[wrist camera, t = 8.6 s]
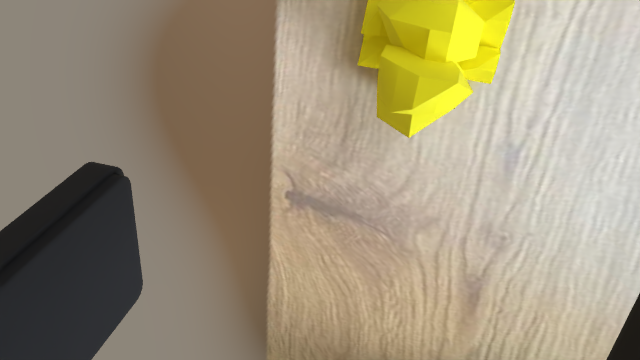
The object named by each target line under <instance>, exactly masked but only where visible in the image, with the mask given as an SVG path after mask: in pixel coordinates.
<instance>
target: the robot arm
mask: <svg viewBox="0 0 640 360" xmlns="http://www.w3.org/2000/svg"><path fill="white" fill-rule="evenodd" d="M142 285H143V280H142V272H141V264H140V256H139V249H138V239H137V231H136V223H135V216H134V207H133V199H132V190H131V183H130V180H129V178H128V177H125V176H124V174H123V172H122V170H121V169H120V168H118V167H115V166H110V165H105V164H100V163H95V162H88V163H86V164H85V165H83V166H82V167H81V168H80V169H78V170H77V171H76V172H74V173H73V174H72V175H71V176H69V177H68V178H67V179H66V180H64V181H63V182H62V183H61V184H59V185H58V186H57V187H56V188H54V189H53V190H52V191H51V192H49V193H48V194H47V195H45V196H44V197H43V198H42V199H40V200H39V201H38V202H37V203H35V204H34V205H33V206H32V207H30V208H29V209H28V210H26V211H25V212H24V213H23V214H21V215H20V216H19V217H18V218H16V219H15V220H14V221H13V222H11V223H10V224H9V225H8V226H6V227H5V228H4V229H2V230H1V231H0V360H91V359H92V358H93V357H94V356H95V354H96V353H97V352H98V350H99V349H100V348H101V346H102V345H103V344H104V342H105V341H106V340H107V339H108V337H109V336H110V335H111V333H112V332H113V331H114V330H115V328H116V327H117V326H118V324H119V323H120V322H121V320H122V319H123V318H124V317H125V315H126V314H127V313H128V311H129V310H130V309H131V307H132V306H133V305H134V304H135V302H136V301H137V299H138V298H139V296H140V294H141V290H142ZM607 360H640V294H639V296H638V298H637V300H636V302H635V304H634V306H633V308H632V310H631V312H630V314H629V316H628V318H627V320H626V322H625V324H624V326H623V328H622V330H621V332H620V334H619V336H618V338H617V340H616V342H615V344H614V346H613V348H612V350H611V352H610V354H609V356H608V358H607Z"/></svg>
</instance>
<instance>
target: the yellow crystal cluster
mask: <svg viewBox="0 0 640 360" xmlns="http://www.w3.org/2000/svg"><path fill="white" fill-rule="evenodd" d="M514 4H515V0H368V2H367V7H366V11H365V16H364V21H363V25H362V30H361V33H362V34H364V36H363V43H362V48H361V52H360V56H359V61H358V65H359V66H364V67H370V68H379V70H378V81H377V117H378V118H380V119H381V120H383V121H384V122H386V123H387V124H389V125H390V126H392V127H393V128H395V129H396V130H398V131H399V132H401V133H402V134H404V135H405V136H407V137H408V138H409V137H411V136H412V135H414V134H415V133H417V132H418V131H420V130H422V129H423V128H425V127H426V126H428V125H429V124H431V123H432V122H434V121H435V120H437V119H438V118H440V117H441V116H443V115H445V114H446V113H448V112H449V111H451V110H452V109H455V107H456V106H457V105H459V104H460V103H461V102H462V101H463V100H465V99H466V98H467V97H468V96H469V95H471V94H472V93H473V91H472V89H471V87H470V86H469V84H468V82H467V80H472V81H478V82H484V83H489V84H491V82H492V79H493V77H494V74H495V72H496V68H497V64H498V61H499V57H500V48H501V45H502V42H503V39H504V37H505V34H506V31H507V28H508V25H509V22H510V19H511V15H512V11H513V8H514Z"/></svg>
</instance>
